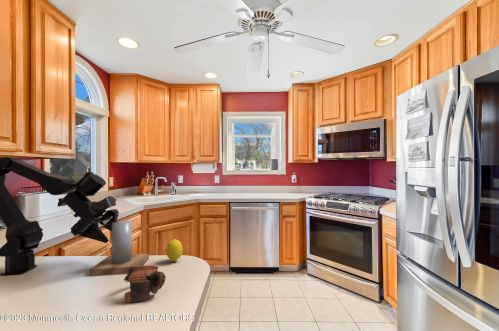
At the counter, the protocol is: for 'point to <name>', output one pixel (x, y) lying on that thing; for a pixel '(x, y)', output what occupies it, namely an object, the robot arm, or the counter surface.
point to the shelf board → (118, 265)
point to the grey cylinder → (121, 242)
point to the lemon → (174, 250)
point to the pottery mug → (143, 282)
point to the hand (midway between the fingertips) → (115, 238)
